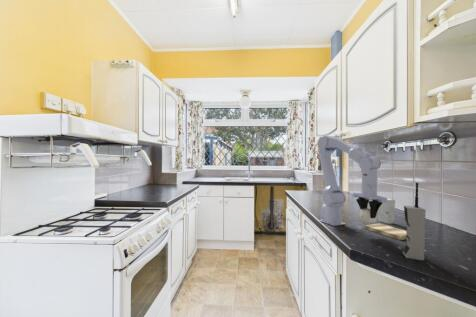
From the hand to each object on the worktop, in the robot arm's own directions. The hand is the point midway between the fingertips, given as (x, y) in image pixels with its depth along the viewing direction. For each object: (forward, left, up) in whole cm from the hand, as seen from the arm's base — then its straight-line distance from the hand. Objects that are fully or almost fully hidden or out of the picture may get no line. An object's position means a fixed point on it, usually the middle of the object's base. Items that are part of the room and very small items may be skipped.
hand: (368, 216), depth 100 cm
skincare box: (-11, +28, -8) cm, 31 cm away
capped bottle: (0, 0, -2) cm, 2 cm away
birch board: (+1, +12, -8) cm, 14 cm away
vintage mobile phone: (+21, -6, -8) cm, 23 cm away
